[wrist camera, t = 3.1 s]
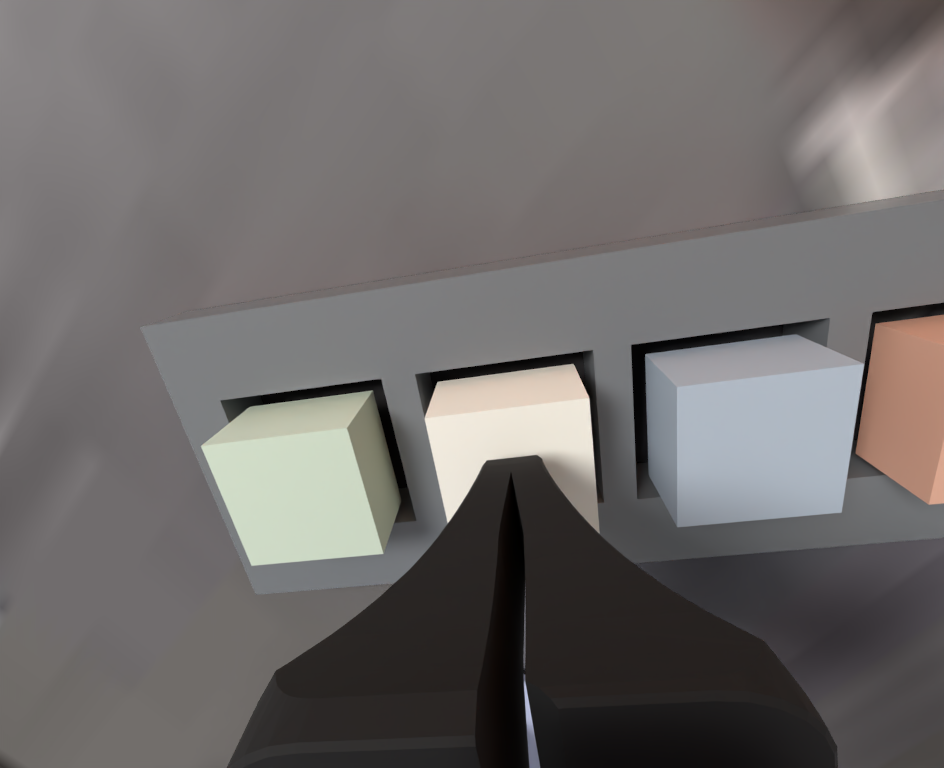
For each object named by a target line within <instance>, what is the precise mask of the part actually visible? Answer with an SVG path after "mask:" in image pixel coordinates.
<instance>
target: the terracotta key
mask: <svg viewBox="0 0 944 768" xmlns="http://www.w3.org/2000/svg"><path fill="white" fill-rule="evenodd" d="M856 454H857V455H858V456H860V457H861V458H863V459H864V460H866V461H867V462H868V463H870V464H871V465H873V466H874V467H876V468H877V469H878V470H880V471H881V472H883V473H884V474H886V475H887V476H888V477H890V478H891V479H893V480H894V481H896V482H897V483H898V484H900V485H901V486H903V487H904V488H906V489H907V490H908V491H910V492H911V493H913V494H914V495H916V496H917V497H918V498H920V499H921V500H923V501H924V502H926V503H927V504H928V505H931V504H942V503H944V315H937V316H929V317H922V318H914V319H907V320H899V321H892V322H884V323H877V324H876V325H875V331H874V338H873V344H872V351H871V357H870V363H869V370H868V376H867V383H866V389H865V396H864V402H863V408H862V415H861V421H860V428H859V434H858V441H857V447H856Z"/></svg>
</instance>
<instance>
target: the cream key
mask: <svg viewBox="0 0 944 768" xmlns="http://www.w3.org/2000/svg"><path fill="white" fill-rule="evenodd" d="M425 423H426V427H427V432H428V436H429V441H430V446H431V450H432V455H433V459H434V464H435V468H436V473H437V477H438V482H439V486H440V491H441V495H442V500H443V504H444V509H445V513H446V518H447V522H449V521H450V520H451V518H452V517H453V515H454V514H455V512H456V511H457V509H458V508H459V506H460V505H461V503H462V501H463V500H464V498H465V497H466V495H467V494H468V492H469V490H470V488H471V487H472V485H473V483H474V481H475V480H476V478H477V476H478V474H479V472H480V470H481V468H482V466H483V464H484V463H485V462H486V461H487V460H495V459H504V458H513V457H522V456H531V455H538V456H539V457H541V458H542V460H543V462H544V465H545V467H546V468H547V470H548V472H549V474H550V475H551V477H552V478H553V480H554V481H555V483H556V484H557V486H558V487H559V488H560V490H561V491H562V492H563V494H564V495H565V496H566V497H567V499H568V500H569V501H570V502H571V504H572V505H573V506H574V507H575V508H576V510H577V511H578V512H579V513H580V514H581V515H582V516H583V517H584V518H585V519H586V521H587V522H588V523H589V524H590V525H591V526H592V527H593V528H594V529H595V530H596V531H597V532H598V533H599V534H600V530H599V517H598V504H597V491H596V478H595V465H594V452H593V440H592V427H591V414H590V401H589V396H588V394H587V392H586V390H585V388H584V385H583V383H582V381H581V379H580V377H579V375H578V372H577V370H576V368H575V366H574V364H568V365H560V366H553V367H545V368H538V369H530V370H523V371H515V372H508V373H500V374H492V375H485V376H477V377H470V378H462V379H455V380H447V381H440V382H437V385H436V388H435V390H434V393H433V396H432V399H431V402H430V404H429V407H428V410H427V413H426V416H425Z"/></svg>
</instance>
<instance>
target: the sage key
mask: <svg viewBox="0 0 944 768" xmlns="http://www.w3.org/2000/svg"><path fill="white" fill-rule="evenodd" d="M201 448H202V450H203V452H204V455H205V457H206V459H207V462H208V464H209V467H210V469H211V471H212V474H213V476H214V478H215V481H216V483H217V485H218V488H219V490H220V492H221V495H222V497H223V500H224V502H225V504H226V507H227V509H228V511H229V514H230V516H231V518H232V521H233V523H234V525H235V528H236V530H237V533H238V535H239V537H240V540H241V542H242V544H243V547H244V549H245V551H246V554H247V556H248V558H249V561H250V563H251V566H255V565H266V564H277V563H288V562H299V561H310V560H321V559H333V558H344V557H355V556H366V555H377V554H384V551H385V548H386V545H387V542H388V539H389V536H390V533H391V530H392V527H393V524H394V521H395V518H396V515H397V512H398V509H399V506H400V503H401V501H402V500H401V497H400V493H399V489H398V485H397V481H396V477H395V473H394V470H393V466H392V462H391V458H390V454H389V450H388V446H387V443H386V439H385V435H384V431H383V427H382V423H381V419H380V416H379V412H378V408H377V404H376V400H375V396H374V392H373V390H372V391H364V392H357V393H349V394H342V395H334V396H327V397H319V398H312V399H304V400H297V401H289V402H282V403H274V404H267V405H259V406H251V407H249V408H248V409H246V410H245V411H244V412H243V413H241V414H240V415H239V416H238V417H236V418H235V419H234V420H233V421H231V422H230V423H229V424H228V425H226V426H225V427H224V428H223V429H221V430H220V431H219V432H218V433H216V434H215V435H214V436H213V437H211V438H210V439H209V440H208V441H207V442H205V443H204V444H203V445H202V446H201Z"/></svg>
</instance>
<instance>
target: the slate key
mask: <svg viewBox="0 0 944 768" xmlns="http://www.w3.org/2000/svg"><path fill="white" fill-rule="evenodd" d="M645 368H646V403H647V437H648V472H649V477H650V478H651V480H652V482H653V484H654V486H655V487H656V489H657V491H658V493H659V495H660V497H661V498H662V500H663V502H664V504H665V506H666V508H667V509H668V511H669V513H670V515H671V517H672V518H673V520H674V522H675V524H676V526H677V527H687V526H698V525H709V524H720V523H731V522H742V521H753V520H764V519H776V518H787V517H798V516H809V515H820V514H831V513H842V507H843V500H844V494H845V487H846V481H847V474H848V467H849V461H850V454H851V448H852V441H853V434H854V428H855V421H856V414H857V408H858V401H859V395H860V388H861V381H862V375H863V368H864V364H863V363H861V362H859V361H856V360H854V359H852V358H850V357H847V356H845V355H843V354H840V353H838V352H836V351H833V350H831V349H829V348H827V347H824V346H822V345H820V344H817V343H815V342H813V341H811V340H808V339H806V338H804V337H801V336H799V335H797V334H794V335H786V336H779V337H771V338H764V339H756V340H749V341H741V342H733V343H726V344H718V345H711V346H703V347H696V348H688V349H681V350H673V351H666V352H658V353H651V354H645Z"/></svg>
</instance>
